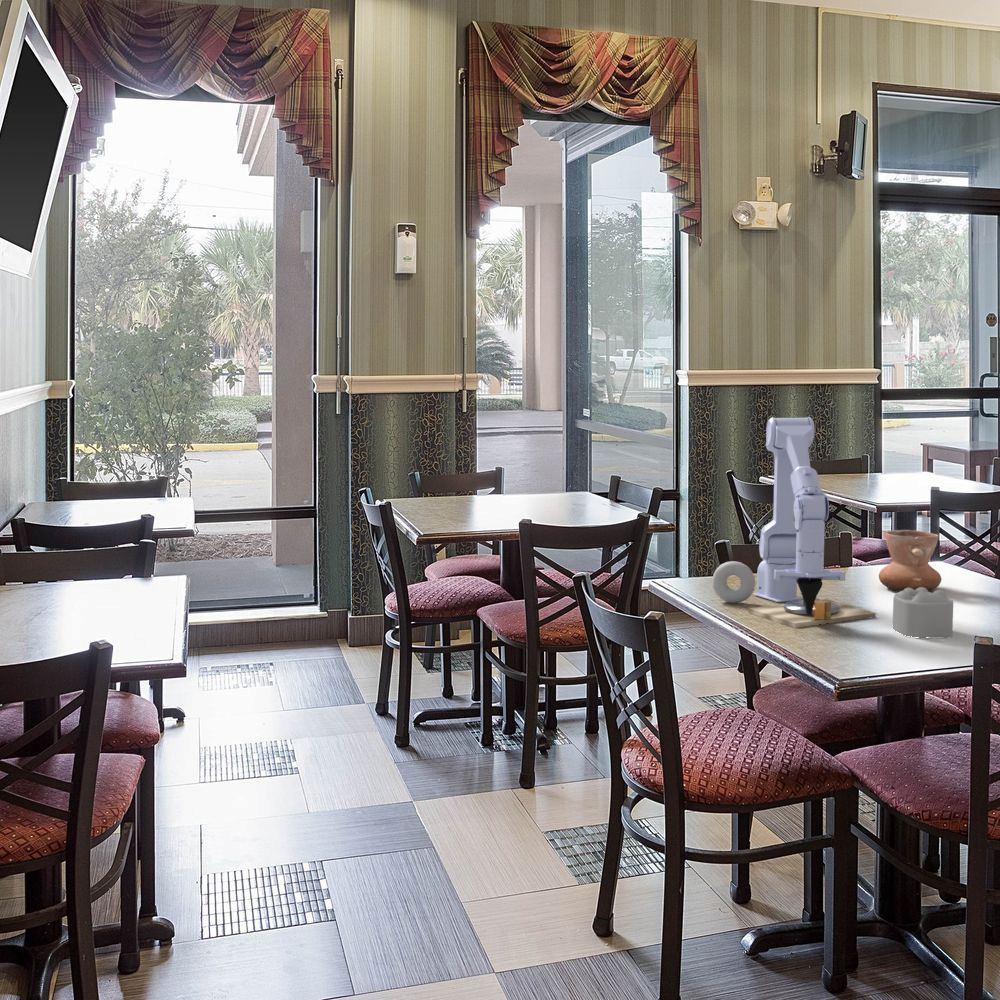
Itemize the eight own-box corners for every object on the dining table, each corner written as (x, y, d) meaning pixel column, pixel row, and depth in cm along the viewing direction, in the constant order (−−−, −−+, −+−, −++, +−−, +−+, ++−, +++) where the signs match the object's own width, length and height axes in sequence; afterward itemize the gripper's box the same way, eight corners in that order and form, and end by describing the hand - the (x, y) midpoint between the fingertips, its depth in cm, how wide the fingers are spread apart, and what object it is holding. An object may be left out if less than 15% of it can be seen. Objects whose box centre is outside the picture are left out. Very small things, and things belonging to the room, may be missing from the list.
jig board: (748, 612, 242) (749, 591, 241) (826, 603, 251) (826, 583, 250) (797, 628, 226) (797, 606, 226) (878, 618, 235) (879, 596, 235)
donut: (755, 602, 252) (756, 561, 251) (753, 605, 249) (754, 563, 248) (713, 600, 256) (713, 558, 254) (710, 603, 252) (711, 561, 251)
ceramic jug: (948, 597, 255) (951, 538, 254) (884, 595, 258) (886, 536, 256) (931, 584, 273) (934, 528, 272) (872, 582, 276) (874, 527, 274)
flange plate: (790, 619, 230) (791, 602, 229) (779, 603, 245) (780, 587, 245) (848, 619, 229) (848, 603, 228) (833, 603, 244) (834, 588, 244)
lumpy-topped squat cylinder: (908, 639, 217) (910, 597, 216) (882, 624, 230) (883, 584, 229) (958, 637, 218) (960, 596, 217) (929, 623, 231) (931, 583, 230)
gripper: (777, 553, 226) (776, 616, 227) (848, 554, 224) (847, 617, 226) (773, 547, 233) (772, 609, 234) (842, 548, 231) (840, 610, 233)
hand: (808, 612), depth 230 cm, fingers closed
